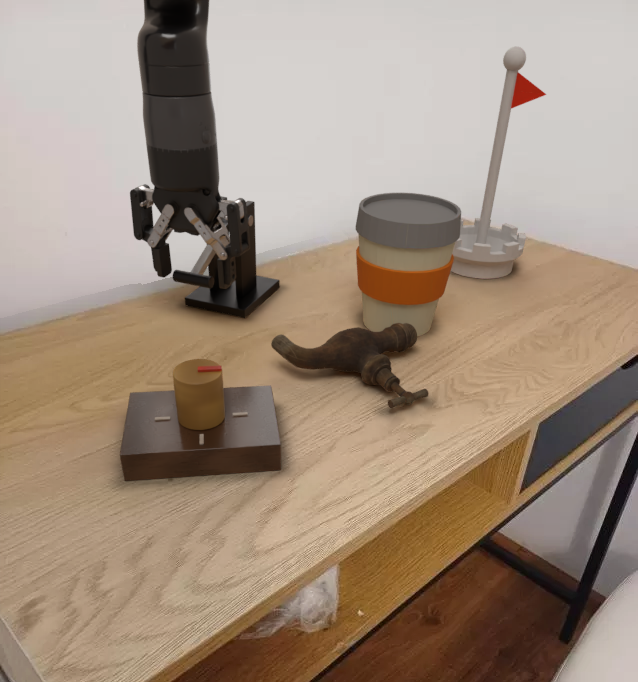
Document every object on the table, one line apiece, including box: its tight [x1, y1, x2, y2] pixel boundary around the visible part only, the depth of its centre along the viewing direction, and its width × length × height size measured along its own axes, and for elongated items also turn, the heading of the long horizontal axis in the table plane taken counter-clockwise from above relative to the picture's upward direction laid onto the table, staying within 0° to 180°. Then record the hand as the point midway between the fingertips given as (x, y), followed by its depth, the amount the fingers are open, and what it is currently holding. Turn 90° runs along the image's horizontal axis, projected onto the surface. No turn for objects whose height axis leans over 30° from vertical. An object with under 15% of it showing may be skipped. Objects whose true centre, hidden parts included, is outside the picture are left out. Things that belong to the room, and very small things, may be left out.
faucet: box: [270, 323, 429, 409], centre depth 72 cm, size 5×17×15 cm
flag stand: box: [450, 46, 547, 280], centre depth 93 cm, size 13×13×30 cm
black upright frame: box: [184, 195, 280, 319], centre depth 86 cm, size 11×9×13 cm
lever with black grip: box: [172, 211, 229, 289], centre depth 81 cm, size 13×5×2 cm, turn 158°
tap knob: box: [172, 358, 225, 430], centre depth 59 cm, size 4×4×5 cm
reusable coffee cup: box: [355, 192, 462, 338], centre depth 80 cm, size 13×13×15 cm
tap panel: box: [119, 385, 282, 482], centre depth 61 cm, size 14×10×3 cm
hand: (195, 280), depth 78 cm, fingers open, 8 cm apart
